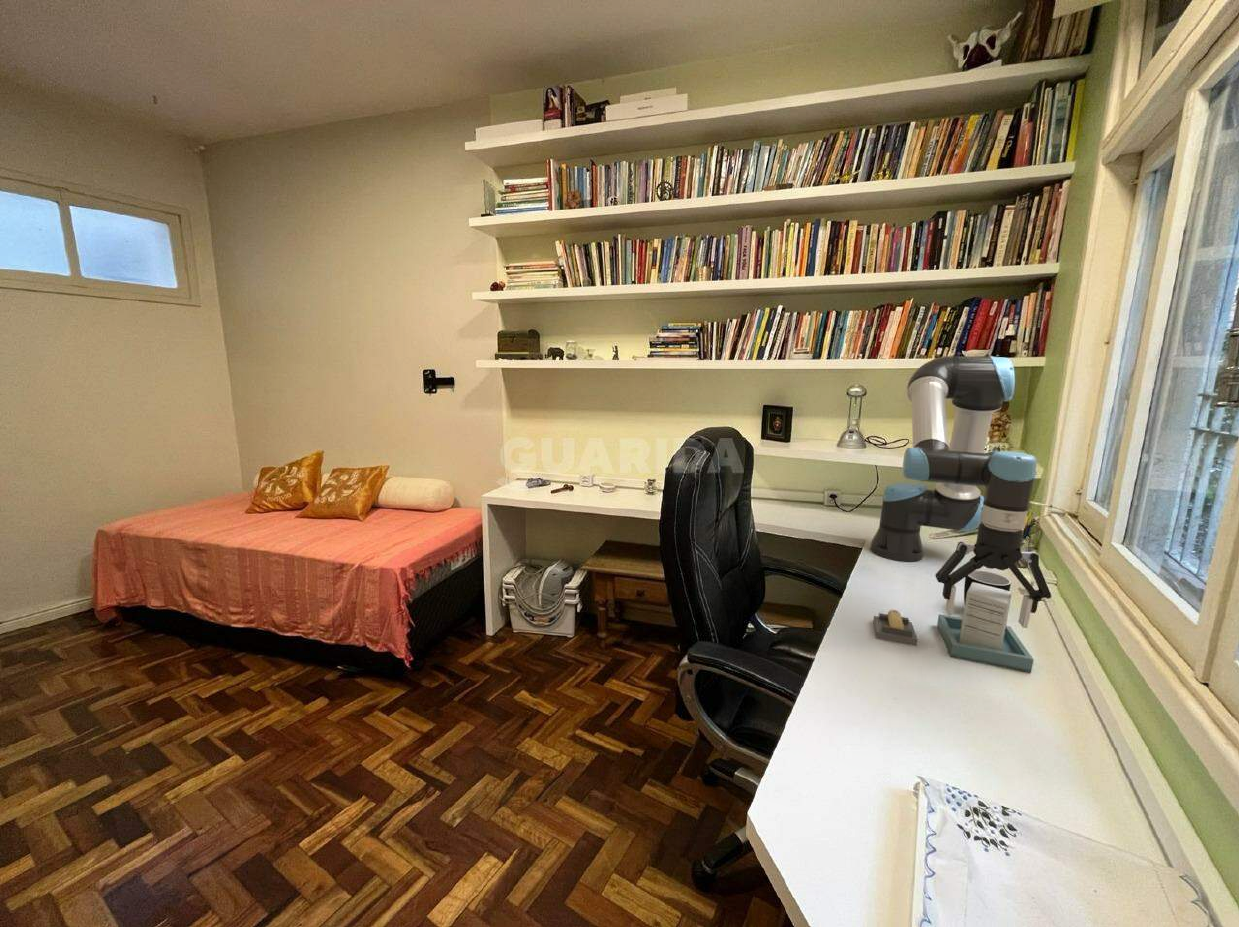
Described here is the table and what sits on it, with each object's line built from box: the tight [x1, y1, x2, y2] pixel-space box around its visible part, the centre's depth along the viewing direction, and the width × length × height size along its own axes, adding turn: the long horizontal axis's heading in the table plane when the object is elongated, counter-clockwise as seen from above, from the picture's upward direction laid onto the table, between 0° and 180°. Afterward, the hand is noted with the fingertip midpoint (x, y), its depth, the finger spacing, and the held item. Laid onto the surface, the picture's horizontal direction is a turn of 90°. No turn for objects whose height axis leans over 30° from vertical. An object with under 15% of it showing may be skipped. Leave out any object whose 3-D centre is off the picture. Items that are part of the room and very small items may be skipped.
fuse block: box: [872, 609, 919, 647], centre depth 115 cm, size 8×8×4 cm
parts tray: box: [936, 613, 1035, 674], centre depth 110 cm, size 14×14×3 cm
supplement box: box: [959, 582, 1013, 651], centre depth 109 cm, size 7×7×13 cm
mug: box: [963, 569, 1012, 606], centre depth 125 cm, size 12×9×10 cm
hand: (984, 618), depth 110 cm, fingers open, 13 cm apart
